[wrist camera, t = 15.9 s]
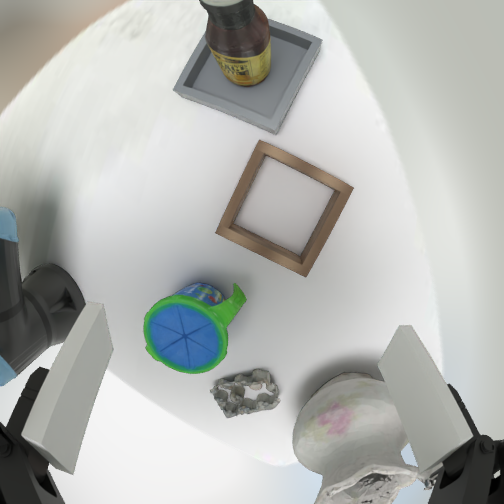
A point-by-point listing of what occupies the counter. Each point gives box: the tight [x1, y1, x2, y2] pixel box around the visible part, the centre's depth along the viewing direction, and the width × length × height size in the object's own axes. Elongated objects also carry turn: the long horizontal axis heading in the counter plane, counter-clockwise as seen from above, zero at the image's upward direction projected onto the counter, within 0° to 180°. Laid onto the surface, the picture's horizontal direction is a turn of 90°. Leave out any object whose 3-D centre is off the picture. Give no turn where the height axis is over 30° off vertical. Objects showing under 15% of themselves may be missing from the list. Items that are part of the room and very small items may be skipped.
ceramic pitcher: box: [293, 373, 443, 504], centre depth 33 cm, size 22×20×25 cm
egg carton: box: [210, 369, 280, 418], centre depth 44 cm, size 10×7×4 cm
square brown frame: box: [215, 140, 354, 277], centre depth 36 cm, size 12×12×4 cm
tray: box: [173, 19, 322, 135], centre depth 32 cm, size 14×14×4 cm
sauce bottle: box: [199, 0, 271, 87], centre depth 23 cm, size 6×6×20 cm
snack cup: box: [144, 283, 247, 374], centre depth 38 cm, size 16×10×10 cm
